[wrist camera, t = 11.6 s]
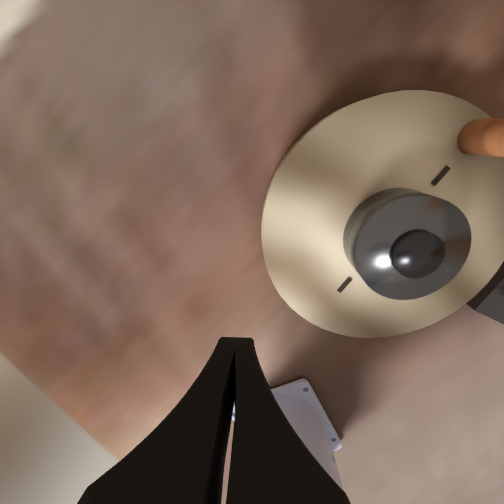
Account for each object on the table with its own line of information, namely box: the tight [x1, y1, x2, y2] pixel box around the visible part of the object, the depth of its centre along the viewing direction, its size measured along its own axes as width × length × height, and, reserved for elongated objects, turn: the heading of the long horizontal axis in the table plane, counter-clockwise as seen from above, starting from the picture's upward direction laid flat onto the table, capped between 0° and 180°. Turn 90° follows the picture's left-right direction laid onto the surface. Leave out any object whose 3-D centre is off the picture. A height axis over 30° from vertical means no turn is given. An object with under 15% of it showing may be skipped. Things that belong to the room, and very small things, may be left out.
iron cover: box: [343, 188, 472, 300], centre depth 17 cm, size 6×6×3 cm
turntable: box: [261, 90, 504, 338], centre depth 17 cm, size 16×16×6 cm
